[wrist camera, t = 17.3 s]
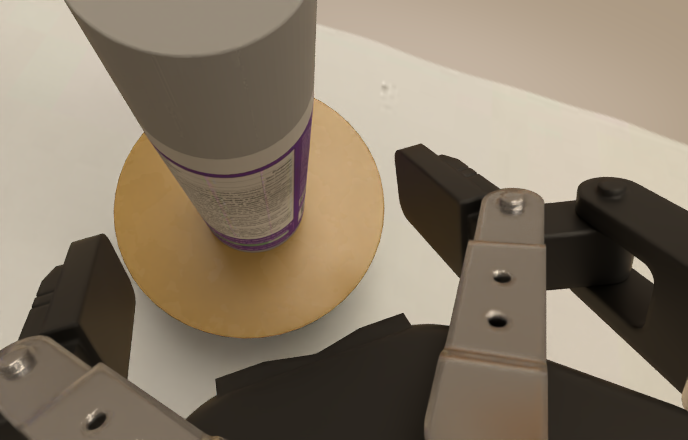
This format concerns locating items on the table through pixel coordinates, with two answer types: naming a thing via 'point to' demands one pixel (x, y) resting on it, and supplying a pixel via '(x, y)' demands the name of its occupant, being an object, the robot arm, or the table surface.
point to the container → (219, 101)
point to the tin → (261, 267)
